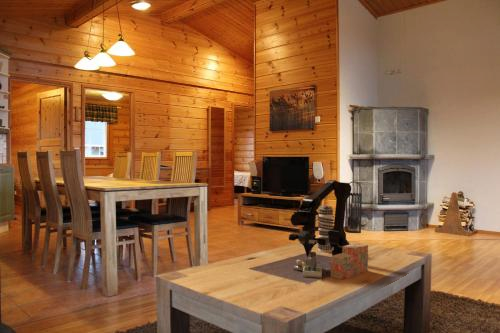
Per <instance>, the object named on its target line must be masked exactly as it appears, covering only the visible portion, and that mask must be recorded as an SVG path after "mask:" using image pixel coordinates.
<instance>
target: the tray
mask: <svg viewBox="0 0 500 333" xmlns="http://www.w3.org/2000/svg"><path fill="white" fill-rule="evenodd" d="M322 269H323V268H322V266H321V267H320V266H317V269H316V271H308V265H306V266H304V267H303V271H302V277H303V278H320V279H321V278H322V277H323V275H322V273H323V270H322Z"/></svg>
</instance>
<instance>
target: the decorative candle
mask: <svg viewBox="0 0 500 333" xmlns="http://www.w3.org/2000/svg"><path fill="white" fill-rule="evenodd" d="M319 207H320V208H318V210H319V211H318V213H319V215H317V220H318V222H317V227H318V238H320V237H326V238H328V236H329V230H332V229H333V227H334V219H335V215H334V208H333V207H332V206H331V205H320V206H319ZM328 239H329V238H328ZM332 250H333V247H331V246H330V242H329V244H327V245H319V244H318V243H317V251H319V252H321V253H332Z"/></svg>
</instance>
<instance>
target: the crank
mask: <svg viewBox="0 0 500 333" xmlns="http://www.w3.org/2000/svg"><path fill="white" fill-rule="evenodd" d="M309 257H316V258H317V253H316V252H315V251H311V252H310V254H309ZM302 262H306V266H308V259H296V264H295V265H296V266H302Z"/></svg>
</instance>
